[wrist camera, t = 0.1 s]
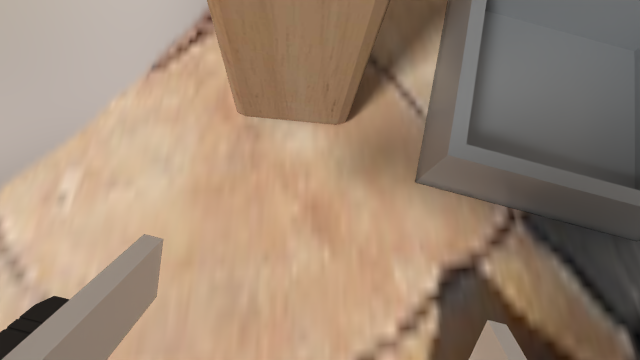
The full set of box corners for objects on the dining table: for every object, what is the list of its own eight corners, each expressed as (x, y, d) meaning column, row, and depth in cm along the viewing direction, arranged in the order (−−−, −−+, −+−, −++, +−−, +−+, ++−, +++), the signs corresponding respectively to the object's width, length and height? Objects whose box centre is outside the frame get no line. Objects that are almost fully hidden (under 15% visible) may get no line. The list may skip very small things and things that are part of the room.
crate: (636, 241, 34) (723, 228, 27) (415, 182, 33) (447, 155, 27) (635, 51, 39) (706, 2, 33) (447, 0, 39) (481, -60, 33)
